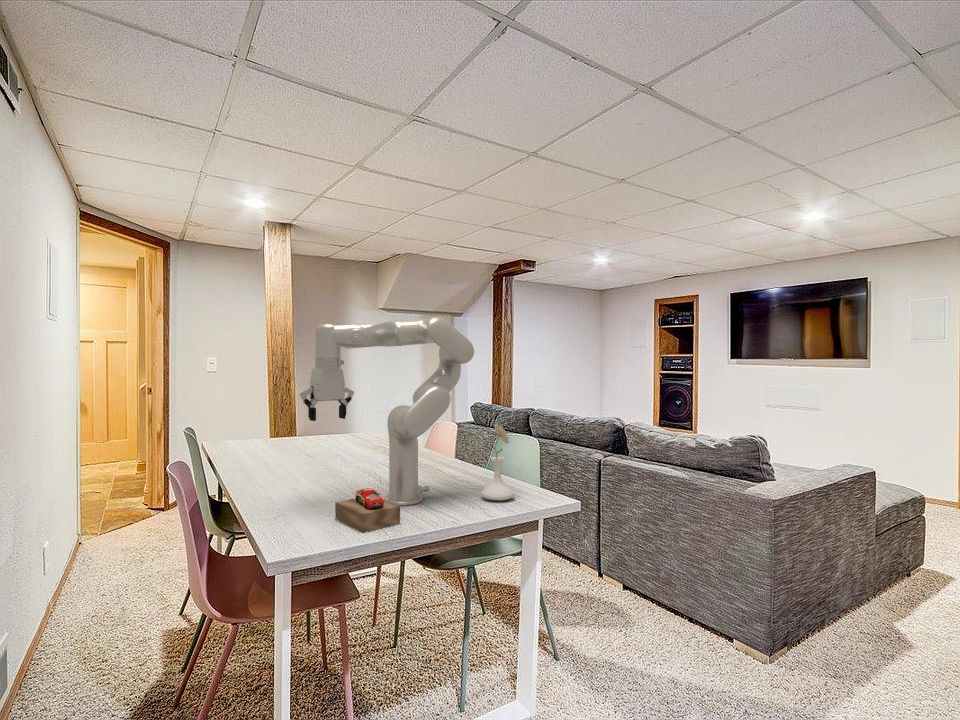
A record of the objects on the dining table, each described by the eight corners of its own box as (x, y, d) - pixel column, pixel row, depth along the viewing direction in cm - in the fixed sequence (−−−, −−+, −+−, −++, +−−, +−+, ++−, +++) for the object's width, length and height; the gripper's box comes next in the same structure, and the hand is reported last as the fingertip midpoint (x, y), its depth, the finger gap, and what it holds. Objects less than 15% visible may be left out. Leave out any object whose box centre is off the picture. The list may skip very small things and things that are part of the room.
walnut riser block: (371, 511, 157) (371, 495, 157) (400, 523, 145) (400, 506, 145) (335, 519, 149) (335, 502, 149) (362, 532, 137) (362, 514, 137)
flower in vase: (515, 503, 167) (515, 427, 167) (480, 503, 167) (481, 426, 167) (512, 493, 180) (513, 422, 180) (480, 493, 180) (480, 422, 180)
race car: (386, 508, 143) (386, 494, 143) (367, 511, 140) (367, 497, 140) (371, 497, 155) (371, 484, 155) (353, 499, 152) (353, 486, 152)
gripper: (347, 364, 167) (347, 416, 166) (295, 364, 155) (295, 420, 155) (359, 364, 161) (358, 418, 161) (305, 364, 149) (305, 422, 149)
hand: (327, 419), depth 158 cm, fingers open, 9 cm apart
